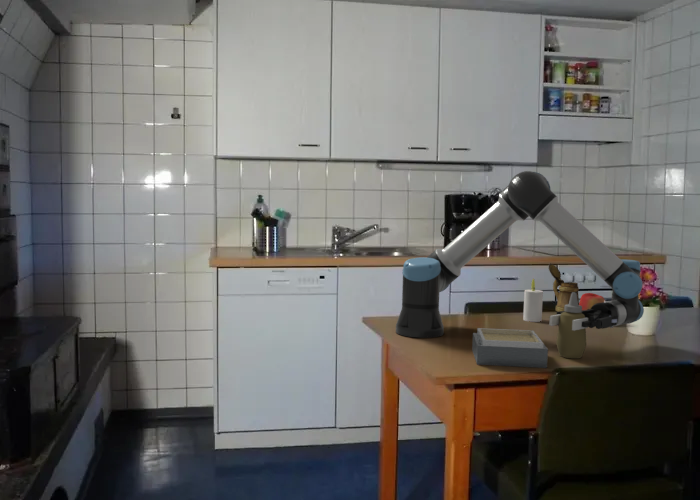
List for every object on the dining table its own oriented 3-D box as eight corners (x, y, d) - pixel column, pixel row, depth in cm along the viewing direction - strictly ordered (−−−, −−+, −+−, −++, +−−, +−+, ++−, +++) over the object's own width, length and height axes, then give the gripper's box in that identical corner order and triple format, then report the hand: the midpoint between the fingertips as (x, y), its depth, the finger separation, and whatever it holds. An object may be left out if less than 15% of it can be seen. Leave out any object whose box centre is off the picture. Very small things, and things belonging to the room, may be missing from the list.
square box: (476, 364, 179) (477, 340, 178) (472, 350, 195) (473, 327, 194) (546, 367, 177) (548, 343, 177) (536, 353, 193) (537, 330, 193)
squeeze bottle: (587, 361, 186) (591, 295, 184) (556, 358, 187) (560, 294, 185) (583, 354, 193) (587, 291, 192) (554, 352, 195) (557, 289, 193)
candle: (544, 319, 243) (546, 278, 242) (538, 322, 238) (540, 280, 236) (526, 317, 246) (528, 276, 245) (520, 320, 241) (522, 278, 240)
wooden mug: (553, 307, 270) (555, 262, 269) (584, 312, 260) (587, 265, 259) (540, 309, 264) (543, 263, 263) (572, 314, 254) (575, 267, 253)
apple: (572, 320, 242) (573, 293, 241) (586, 317, 249) (587, 290, 248) (597, 325, 235) (599, 296, 234) (611, 322, 242) (612, 294, 241)
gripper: (637, 333, 194) (593, 343, 179) (577, 321, 209) (531, 330, 194) (639, 307, 193) (594, 315, 178) (578, 297, 208) (532, 304, 193)
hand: (562, 323), depth 186 cm, fingers closed on squeeze bottle, 6 cm apart
